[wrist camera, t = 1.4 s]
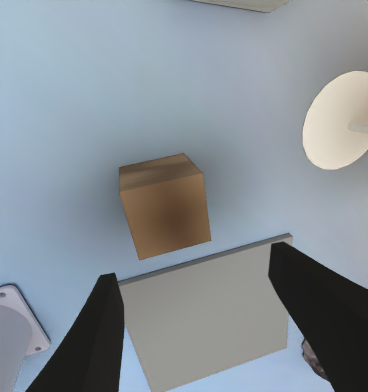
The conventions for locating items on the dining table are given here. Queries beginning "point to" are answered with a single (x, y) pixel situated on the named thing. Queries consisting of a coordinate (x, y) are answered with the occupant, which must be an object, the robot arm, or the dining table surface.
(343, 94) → the wineglass
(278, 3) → the supplement box
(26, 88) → the dining table surface
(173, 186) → the walnut cube
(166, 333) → the grey mat
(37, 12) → the dining table surface
